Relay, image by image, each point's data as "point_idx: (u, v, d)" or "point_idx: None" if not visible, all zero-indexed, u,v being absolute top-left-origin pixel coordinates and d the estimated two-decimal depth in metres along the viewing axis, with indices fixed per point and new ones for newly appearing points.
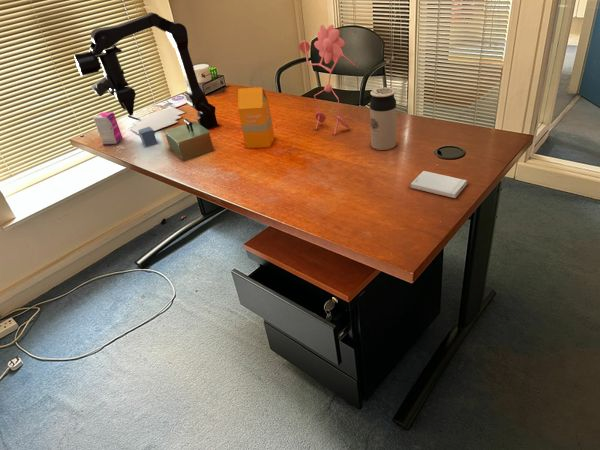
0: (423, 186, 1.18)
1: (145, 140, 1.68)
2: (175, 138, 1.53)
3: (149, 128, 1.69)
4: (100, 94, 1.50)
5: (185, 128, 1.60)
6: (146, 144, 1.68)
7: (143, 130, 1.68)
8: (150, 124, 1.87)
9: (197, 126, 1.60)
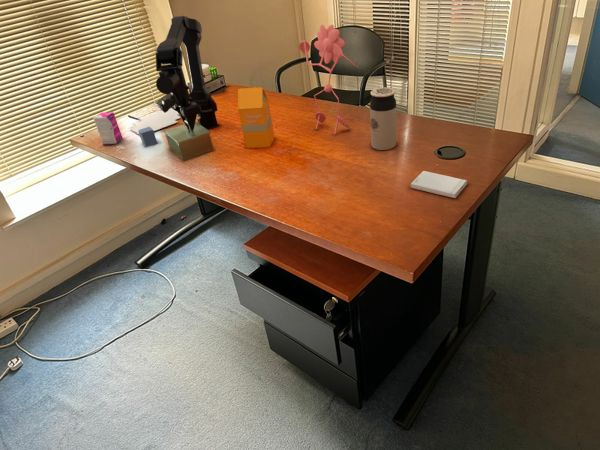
0: (423, 186, 1.18)
1: (145, 140, 1.68)
2: (175, 138, 1.53)
3: (149, 128, 1.69)
4: (165, 110, 1.48)
5: (185, 128, 1.60)
6: (146, 144, 1.68)
7: (143, 130, 1.68)
8: (150, 124, 1.87)
9: (197, 126, 1.60)
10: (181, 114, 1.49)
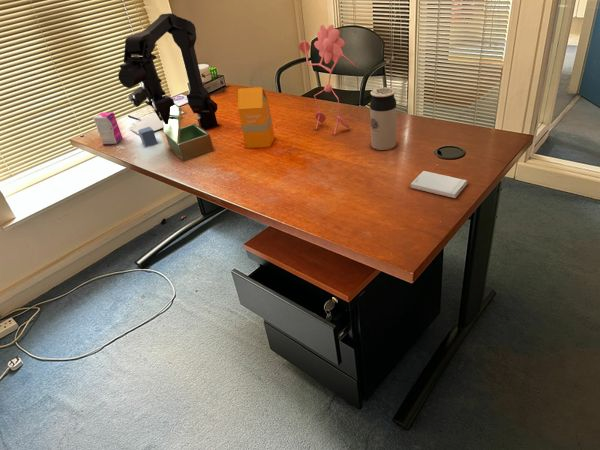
0: (423, 186, 1.18)
1: (145, 140, 1.68)
2: (173, 138, 1.53)
3: (149, 128, 1.69)
4: (137, 104, 1.42)
5: None
6: (146, 144, 1.68)
7: (143, 130, 1.68)
8: (150, 124, 1.87)
9: None
10: (154, 108, 1.43)
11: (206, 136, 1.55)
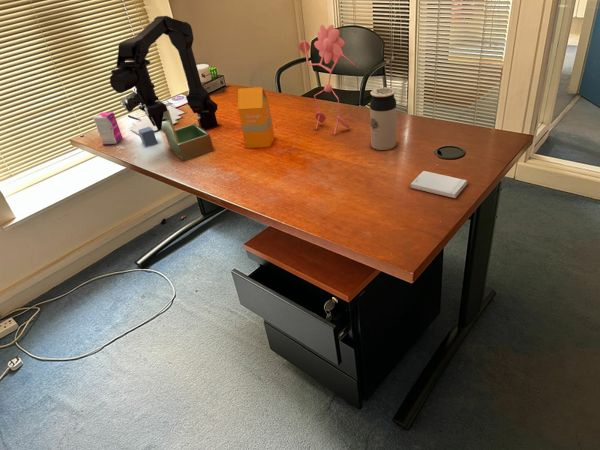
0: (423, 186, 1.18)
1: (145, 140, 1.68)
2: (172, 138, 1.52)
3: (149, 128, 1.69)
4: (130, 110, 1.42)
5: None
6: (146, 144, 1.68)
7: (143, 130, 1.68)
8: (150, 124, 1.87)
9: None
10: (146, 113, 1.43)
11: (206, 136, 1.55)
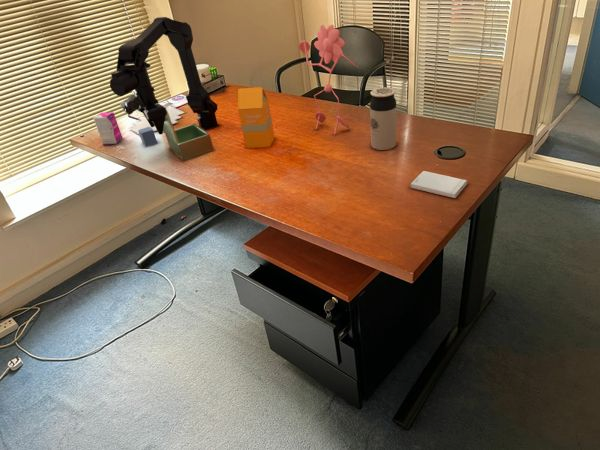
0: (423, 186, 1.18)
1: (145, 140, 1.68)
2: (172, 138, 1.52)
3: (149, 128, 1.69)
4: (129, 112, 1.42)
5: None
6: (146, 144, 1.68)
7: (143, 130, 1.68)
8: None
9: None
10: (148, 118, 1.42)
11: (206, 136, 1.55)
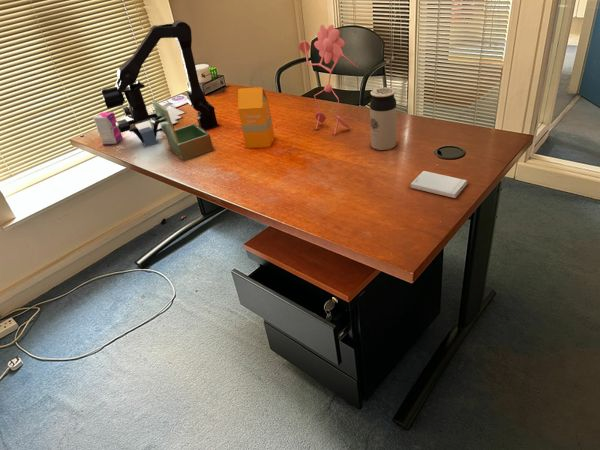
0: (423, 186, 1.18)
1: (145, 140, 1.68)
2: (172, 138, 1.52)
3: (149, 128, 1.69)
4: None
5: (161, 118, 1.53)
6: (146, 144, 1.68)
7: (143, 130, 1.68)
8: (150, 124, 1.87)
9: (158, 108, 1.50)
10: None
11: (206, 136, 1.55)
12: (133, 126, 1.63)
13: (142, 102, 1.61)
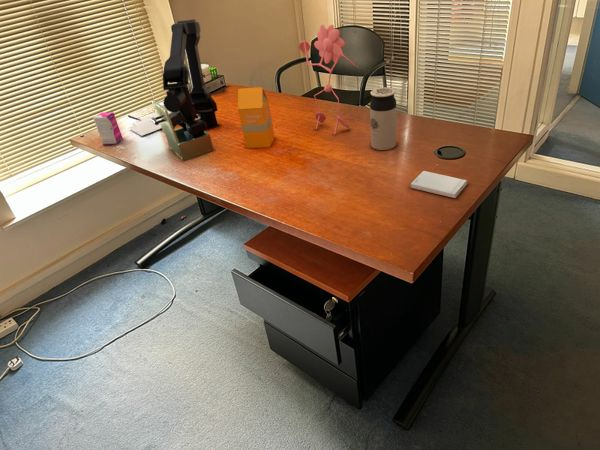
0: (423, 186, 1.18)
1: None
2: (172, 138, 1.52)
3: None
4: None
5: (160, 118, 1.53)
6: None
7: None
8: (150, 124, 1.87)
9: (158, 108, 1.50)
10: (188, 132, 1.52)
11: (206, 136, 1.55)
12: None
13: None
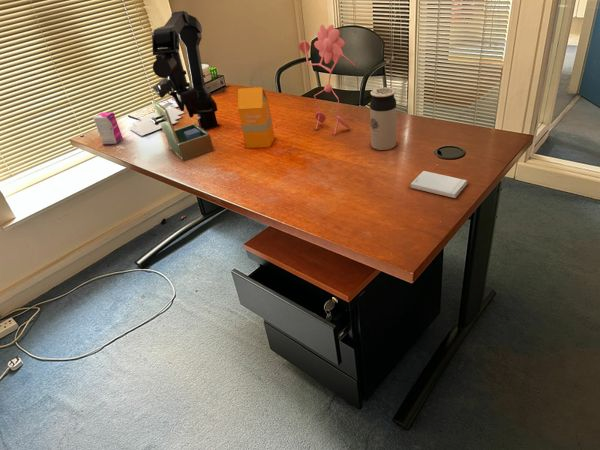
0: (423, 186, 1.18)
1: None
2: (172, 138, 1.52)
3: (190, 130, 1.60)
4: (162, 95, 1.45)
5: (160, 118, 1.53)
6: None
7: (192, 132, 1.58)
8: (150, 124, 1.87)
9: (158, 108, 1.50)
10: (180, 101, 1.45)
11: (206, 136, 1.55)
12: None
13: None
